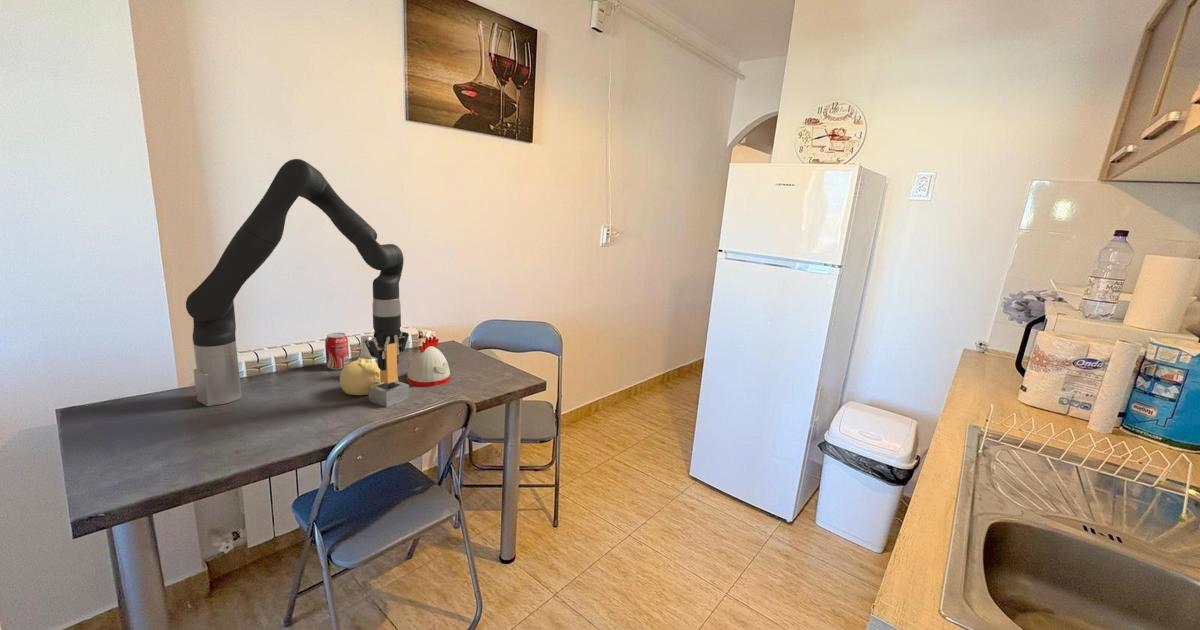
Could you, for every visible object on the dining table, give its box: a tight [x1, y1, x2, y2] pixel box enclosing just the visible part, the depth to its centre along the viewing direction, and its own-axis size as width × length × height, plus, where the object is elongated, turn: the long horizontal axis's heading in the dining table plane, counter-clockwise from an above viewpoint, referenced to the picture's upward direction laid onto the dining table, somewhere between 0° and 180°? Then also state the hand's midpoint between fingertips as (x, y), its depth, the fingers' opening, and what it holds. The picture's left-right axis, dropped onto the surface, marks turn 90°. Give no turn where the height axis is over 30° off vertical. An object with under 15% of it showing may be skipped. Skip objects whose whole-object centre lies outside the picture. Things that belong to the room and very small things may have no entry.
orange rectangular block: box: [380, 343, 399, 384], centre depth 139 cm, size 3×3×12 cm
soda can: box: [324, 332, 350, 371], centre depth 163 cm, size 7×7×12 cm
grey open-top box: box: [368, 380, 410, 408], centre depth 141 cm, size 8×8×4 cm
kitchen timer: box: [406, 335, 451, 387], centre depth 159 cm, size 14×14×15 cm
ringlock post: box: [358, 335, 378, 363], centre depth 157 cm, size 6×6×14 cm
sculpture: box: [339, 357, 381, 396], centre depth 145 cm, size 12×12×11 cm
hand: (388, 367), depth 140 cm, fingers closed on orange rectangular block, 3 cm apart
